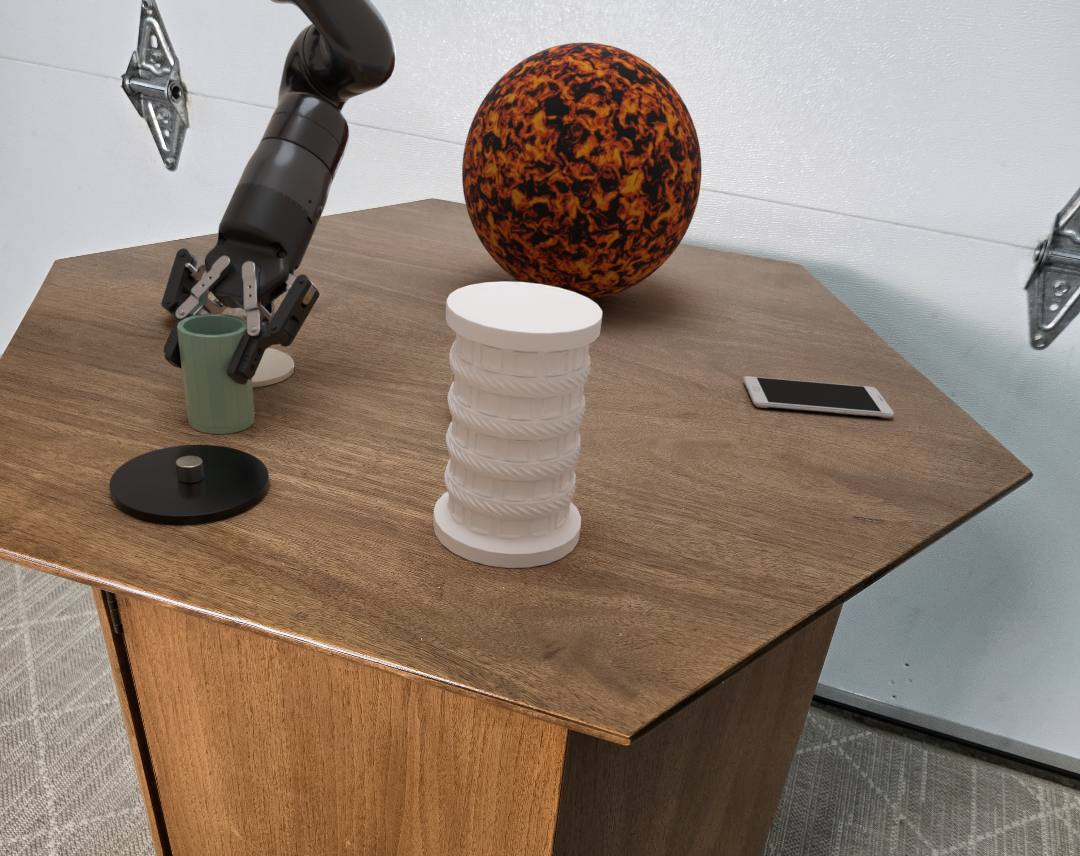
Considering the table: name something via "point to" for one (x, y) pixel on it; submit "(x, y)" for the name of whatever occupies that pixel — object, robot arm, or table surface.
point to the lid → (189, 484)
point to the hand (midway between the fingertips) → (204, 371)
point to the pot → (214, 374)
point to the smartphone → (817, 397)
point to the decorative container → (515, 422)
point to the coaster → (273, 368)
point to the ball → (582, 169)
